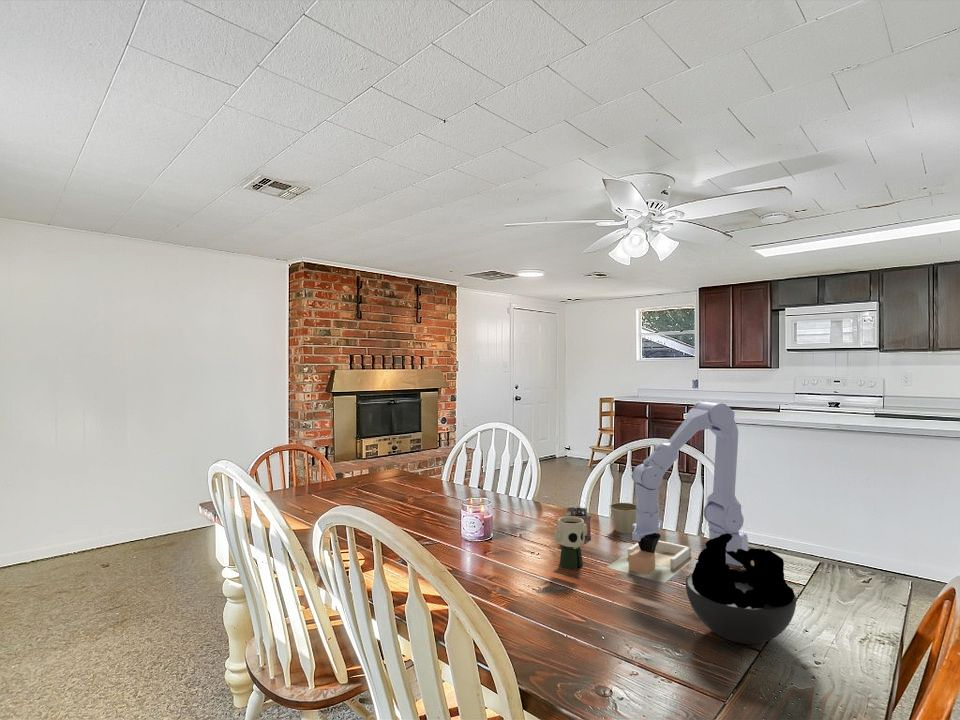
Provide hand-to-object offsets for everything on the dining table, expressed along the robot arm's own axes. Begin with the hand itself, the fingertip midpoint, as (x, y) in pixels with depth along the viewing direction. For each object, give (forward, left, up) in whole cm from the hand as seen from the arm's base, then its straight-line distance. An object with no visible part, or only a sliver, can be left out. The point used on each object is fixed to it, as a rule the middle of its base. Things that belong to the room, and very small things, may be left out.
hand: (647, 561), depth 145 cm
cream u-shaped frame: (0, -7, -1) cm, 8 cm away
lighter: (+27, -9, -2) cm, 29 cm away
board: (0, -3, -2) cm, 3 cm away
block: (0, +4, -1) cm, 4 cm away
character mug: (+16, +13, -2) cm, 20 cm away
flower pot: (+18, -23, -2) cm, 30 cm away
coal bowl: (-29, +23, -2) cm, 37 cm away
